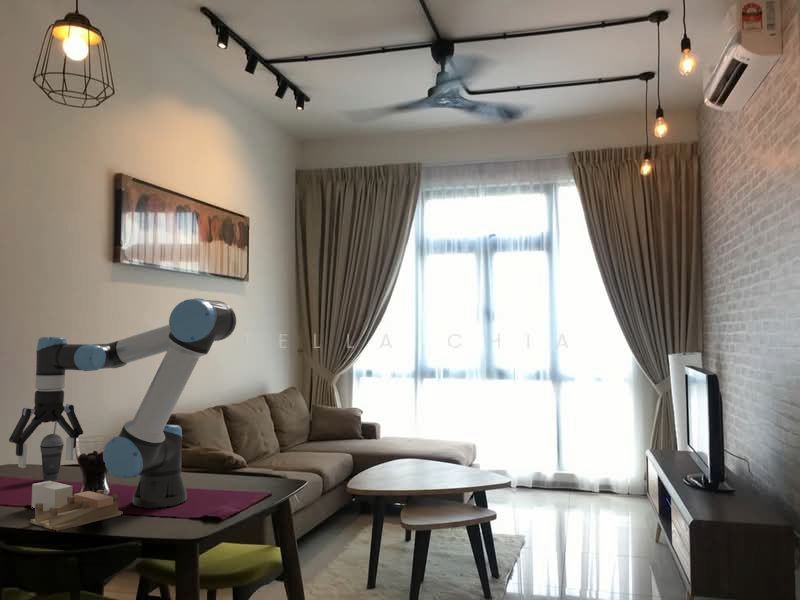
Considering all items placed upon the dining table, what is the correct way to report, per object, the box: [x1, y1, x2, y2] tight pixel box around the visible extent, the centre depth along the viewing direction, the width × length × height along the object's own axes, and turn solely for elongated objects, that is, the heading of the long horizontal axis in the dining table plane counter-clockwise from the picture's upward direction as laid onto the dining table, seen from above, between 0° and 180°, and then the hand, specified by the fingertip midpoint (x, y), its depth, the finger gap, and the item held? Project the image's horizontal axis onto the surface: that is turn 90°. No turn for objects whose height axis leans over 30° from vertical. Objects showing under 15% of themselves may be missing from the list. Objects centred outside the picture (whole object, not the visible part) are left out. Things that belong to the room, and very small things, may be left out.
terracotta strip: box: [72, 490, 113, 508], centre depth 179 cm, size 12×4×2 cm, turn 57°
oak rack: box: [30, 489, 124, 532], centre depth 175 cm, size 13×18×5 cm
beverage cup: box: [39, 421, 65, 482], centre depth 222 cm, size 7×7×20 cm
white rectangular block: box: [31, 481, 73, 510], centre depth 184 cm, size 12×5×7 cm, turn 57°
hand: (46, 463), depth 187 cm, fingers open, 13 cm apart
